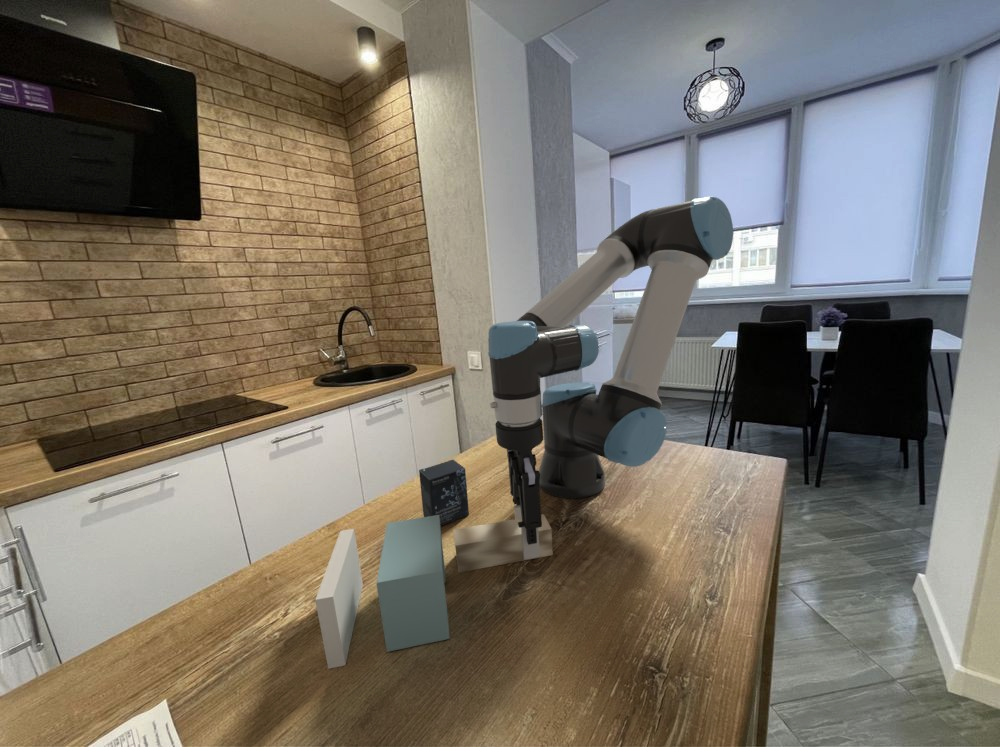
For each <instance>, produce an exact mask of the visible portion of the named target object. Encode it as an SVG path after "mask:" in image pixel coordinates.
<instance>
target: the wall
mask: <svg viewBox="0 0 1000 747" xmlns="http://www.w3.org/2000/svg"><path fill="white" fill-rule="evenodd" d="M355 532H356V531H355V528H350V529H344V530H340V531H339V534H338V537H337V539H336V542H335V545H334V547H333V551H332V553H331V556H330V559H329V561H328V564H327V567H326V570H325V571H324V572H325V573H324V575H323V577H322V581H321V583H320V585H319V589H318V591H317V594H316V598H315V600H314V601H315V606H316V611H317V615H318V616H317V617H318V622H319V627H320V632H321V636H322V642H323V648H324V654H325V658H326V663H327V664H326V665H327V669H328V670H330V669H331V670H332V669H334V668H340V667H344V666H346V663H347V659H348V655H349V649H350V645H351V641H352V637H353V632H354V627H355V623H356V619H357V613H358V609H359V605H360V601H361V596H362V595H361V594H362V593H363V592H362V591H363V587H364V583H363V576H362V570H361V569H362V568H361V564H360V557H359V551H358V545H357V539H356V533H355Z"/></svg>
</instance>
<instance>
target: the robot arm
mask: <svg viewBox="0 0 1000 747" xmlns="http://www.w3.org/2000/svg"><path fill="white" fill-rule="evenodd" d="M733 238H734V224H733V220H732V215H731V213H730V210H729V208H728V206H727V204H726V203H725V202H724V201H723V200H722V199H720V198H718V197H717V196H706V197H701V198H698V197H696V198H693V199H692V200H690V201H685V202H681V203H676V204H671V205H667V206H662V207H657V208H653V209H652V208H651V209H649V210H645V211H643V212H640V213H638V214H637V215H635V216H634V217H632V218H631V219H629V220H627V221H626V222H625V223H623V224H622V225H621V226H619V227H617V229H615V230H614V231H613V232H611V233H610V234H609V235H607V237H605V238H604V239H603V240H602V241H601V242H600V243H599V244H598V245H597V249H596V252H595V253H594V254H593V255H592V256H591V257H589V258H588V259H587V260H586V261H585V262H584V263H582V264H581V265H580V266H579V267H578V268H576V270H574V271H573V272H572V273H570V275H568V276H567V277H566V278H564V280H563V281H561V282H560V283H559V284H558V285H557V286H555V287H554V288H553V289H552V290H551V291H549V293H547V294H546V295H545V296H544V297H542V299H540V300H539V301H538V302H537V303H536V304H534V305H533V306H532V307H531V308H530V309H529V310H528V311H526V312H525V313H524V314H523V315H522V316H520V317H519V318H518V319H517V320H514V321H513V320H511V321H503V322H498V323H495V324H492V325H491V327H489V329H488V338H487V340H488V358H489V367H490V376H491V377H490V378H491V387H492V396H493V400H494V401H492V402H490V403H489V406H490V408H491V409H494V418H495V420H496V422H495V425H494V426H495V435H496V443H497V445H498V446H499V447H501V448H503V449H504V450H506V453H507V455H506V456H507V466H508V473H509V474H508V477H509V487H510V491H509V492H510V495H511V497H512V503H513V504H514V506H513V510H514V519H520V518H522V522H518V526H519V528H520V527H521V534H522V546H523V558H524V561H527V560H526V559H529V560H532V559H531V558H534V559H537V558H536V557H540V548H539V533H538V527H542V521H541V515H542V508H541V507H542V506H541V493H540V492H541V490H540V489H542V491H544V492H545V493H547V494H549V495H552V496H555V497H558V498H564V499H583V498H589V497H591V496H594V495H596V494H598V493H601V491H602V490H604V488H605V486H606V476H605V475H606V474H605V471H604V468H603V465H602V462H601V459H600V457H602V458H604V459H606V460H608V461H610V462H612V463H614V464H619V465H622V466H625V467H629V468H635V467H639V466H642V465H645V464H646V463H647V462H649V461H651V460H652V459H653V458H654V457H655V456H656V454H658V453H659V451H660V449H661V447H662V446H663V444H664V442H665V438H666V435H667V430H668V429H667V427H666V426H667V419H666V416H665V414H664V413H663V412H662V411H661V408H662V405H663V404H662V402H663V401H661V399H660V397H659V395H658V390H659V387H660V385H661V381H662V378H663V376H664V373H665V370H666V368H667V365H668V361H669V358H670V355H671V353H672V351H673V347H674V344H675V342H676V339H677V337H678V333H679V330H680V328H681V325H682V322H683V318H684V316H685V313H686V311H687V308H688V305H689V303H690V302H689V301H690V299H691V296H692V293H693V290H694V288H695V284H696V282H697V281H698V280H700V279H702V278H704V277H706V276H707V275H708V273H709V271H710V267H711V264H712V262H713V261H718V260H721V259H723V258H725V257H726V256H728V254H729V253H730V251H731V248H732V245H733V241H734V239H733ZM645 267H649V268H650V270H651V272H650V275H649V277H648V280H647V282H646V285H645V288H644V290H643V294H642V297H641V300H640V302H639V305H638V307H637V310H636V313H635V316H634V318H633V322H632V324H631V326H630V329H629V333H628V336H627V338H626V341H625V344H624V346H623V349H622V352H621V354H620V357H619V360H618V362H617V366H616V369H615V372H614V375H613V376H612V378H611V379H610V380H607V381H605V382H602V384H601V386H600V390H599V391H598V394H597V388H596V385H595V384H594V383H593V382H587V381H586V382H585V381H584V382H583V381H582V382H581V381H580V382H567V383H561V384H556V385H552V386H549V387H547V388H546V389H545V390H544V391H543V393H542V390H541V378H547V377H551V376H556V375H560V374H564V373H569V372H573V371H575V372H577V371H579V370H581V369H584V368H586V367H589V366H591V365H593V364H594V363H595V361H596V360H597V358H598V356H599V352H600V350H599V349H600V348H599V339H598V337H597V334H596V333H595V332H594V330H593V329H592V328H591V327H589V326H587V325H585V324H577V325H576V324H575V325H574V324H570V323H572V322H573V321H574V320H576V318H578V316H580V314H582V313H583V312H584V311H585V310H586V309H587V308H588V307H589V306H590V305H592V304H593V303H594V302H595V301H596V300H597V299H598V298H599V297H601V295H602V294H603V293H604V292H606V291H607V290H608V289H609V288H611V286H612V285H614V284H615V283H616V281H618V280H619V279H623V278H627V277H629V276H630V275H631V274H632V273H633V272H634V271H637V270H639V269H642V268H645ZM542 442H543V444H544V451H543V455H542V457H541V462H540V464H539V468H538V470H536V465H537V458H536V453H533V449H535V448H536V447H538V446H539V445H541V444H542ZM599 456H600V457H599ZM540 558H541V557H540Z"/></svg>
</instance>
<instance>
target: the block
mask: <svg viewBox="0 0 1000 747" xmlns="http://www.w3.org/2000/svg"><path fill="white" fill-rule="evenodd" d="M441 527H442V526H440V518H439V515H435V516H428V517H424V516H423V517H418V518H410V519H409V518H408V519H404V520H403V519H402V520H397V521H391V522H390V521H389V522H387V523H386V527H385V533H384V537H383V538H384V539H383V543H382V550H381V555H380V559H379V560H380V561H379V567H378V572H377V578H376V589H377V595H378V596H377V597H378V603H379V608H380V615H381V621H382V629H383V630H382V631H383V634H384V635H383V636H384V643H385V648H386V652H387V653H388V652H392V651H393V652H394V651H397V650H402V649H407V648H413V647H416V646H421V645H427V644H430V643H436V642H440V641H441V642H442V641H446V640H449V639H450V638H451V637H450V624H449V613H448V606H447V605H448V604H447V596H446V588H445V587H446V586H445V583H446V582H447V581H446V580H447V578H446V566H445V558H444V547H443V538H442V529H441Z"/></svg>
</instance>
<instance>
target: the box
mask: <svg viewBox="0 0 1000 747" xmlns="http://www.w3.org/2000/svg"><path fill="white" fill-rule="evenodd" d="M418 474H419V484H420V485H419V486H420V492H421V493H420V494H421V503H422V512H423V517H428V516H435V515H439V518H440V527H442V526H444V525H446V524H449V523H452V522H454V521H457V520H459V519H462V518H464V517H468V516H469V515H470V512H469V499H468V497H469V496H468V486H467V475H466V468H465V467H464V466H462V465H461V464H460V463H458V462H457V461H456V460H455V459H449V460H447V461H444V462H440V463H438V464H434V465H433V466H432V465H431V466H428V467H426V468H421V469H419V470H418Z"/></svg>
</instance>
